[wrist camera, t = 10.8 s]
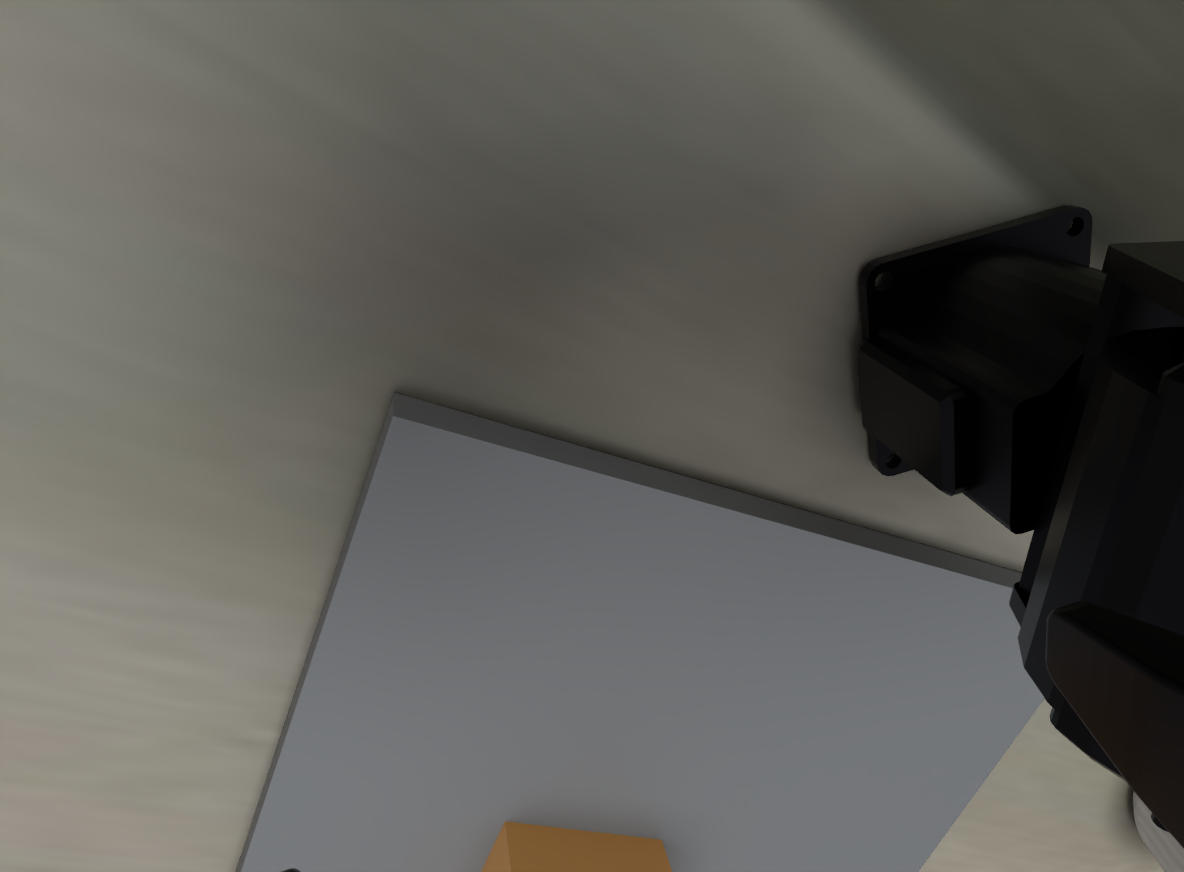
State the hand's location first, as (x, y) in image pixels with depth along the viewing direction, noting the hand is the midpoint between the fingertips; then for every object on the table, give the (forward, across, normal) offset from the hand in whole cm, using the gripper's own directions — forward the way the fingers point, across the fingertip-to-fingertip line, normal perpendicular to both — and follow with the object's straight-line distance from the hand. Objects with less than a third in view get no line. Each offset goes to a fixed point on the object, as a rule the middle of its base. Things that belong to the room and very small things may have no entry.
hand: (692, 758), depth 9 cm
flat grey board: (+13, -1, +14) cm, 19 cm away
